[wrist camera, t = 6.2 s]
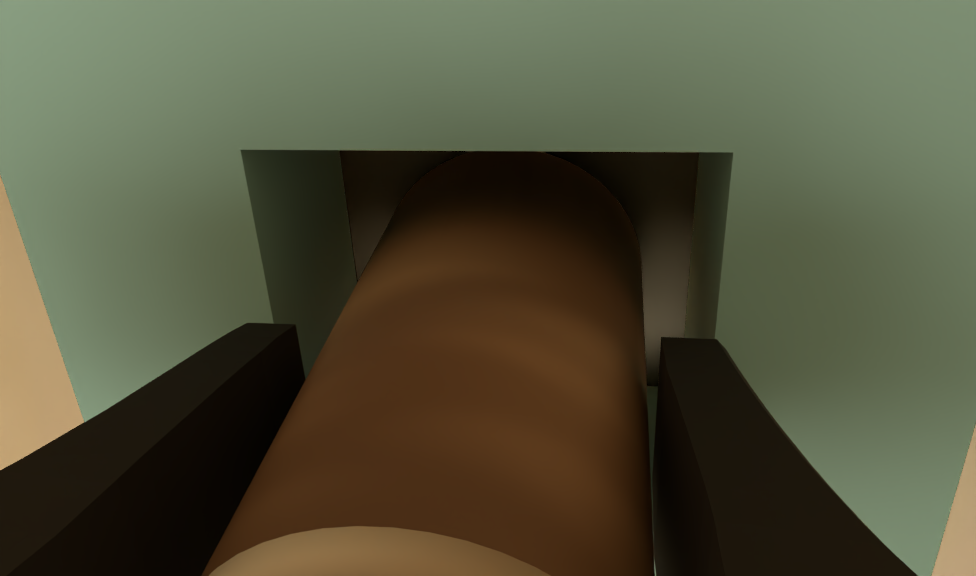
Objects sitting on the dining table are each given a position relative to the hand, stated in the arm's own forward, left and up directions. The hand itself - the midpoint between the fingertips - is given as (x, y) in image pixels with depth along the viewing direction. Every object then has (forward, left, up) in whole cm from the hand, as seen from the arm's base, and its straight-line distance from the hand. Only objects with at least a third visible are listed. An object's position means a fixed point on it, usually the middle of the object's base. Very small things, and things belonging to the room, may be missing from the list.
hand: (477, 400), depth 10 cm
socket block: (0, 0, -4) cm, 4 cm away
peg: (0, 0, -4) cm, 4 cm away
